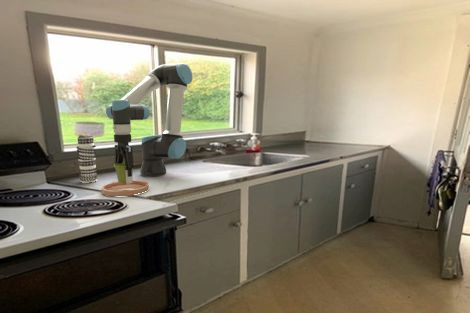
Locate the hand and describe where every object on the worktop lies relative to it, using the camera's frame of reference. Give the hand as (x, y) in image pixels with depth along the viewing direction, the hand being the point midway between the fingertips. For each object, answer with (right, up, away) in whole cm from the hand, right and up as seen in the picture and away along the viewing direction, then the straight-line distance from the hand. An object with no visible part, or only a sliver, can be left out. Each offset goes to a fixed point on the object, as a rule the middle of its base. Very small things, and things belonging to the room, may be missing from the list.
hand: (125, 181), depth 143 cm
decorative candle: (-26, -2, +19) cm, 33 cm away
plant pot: (0, -1, 0) cm, 0 cm away
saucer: (0, -4, +1) cm, 4 cm away
